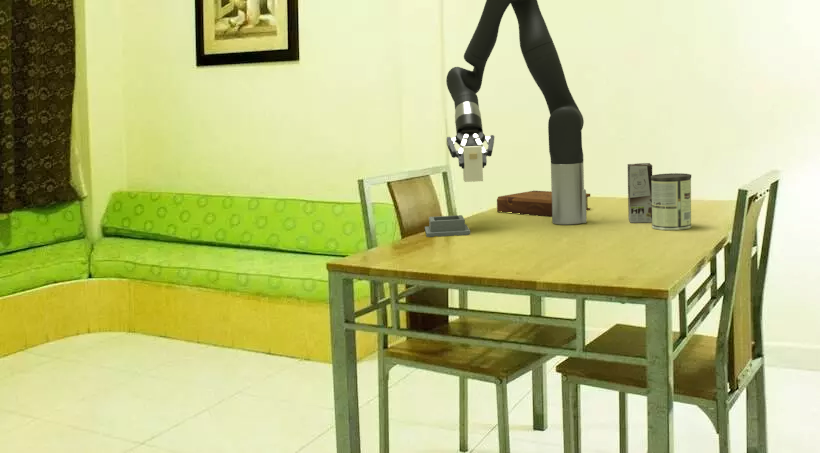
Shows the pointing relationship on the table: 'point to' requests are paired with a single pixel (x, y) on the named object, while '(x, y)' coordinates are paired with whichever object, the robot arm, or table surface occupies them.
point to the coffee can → (671, 201)
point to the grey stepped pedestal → (447, 226)
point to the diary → (529, 203)
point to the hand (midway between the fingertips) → (473, 166)
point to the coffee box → (639, 192)
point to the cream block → (472, 164)
